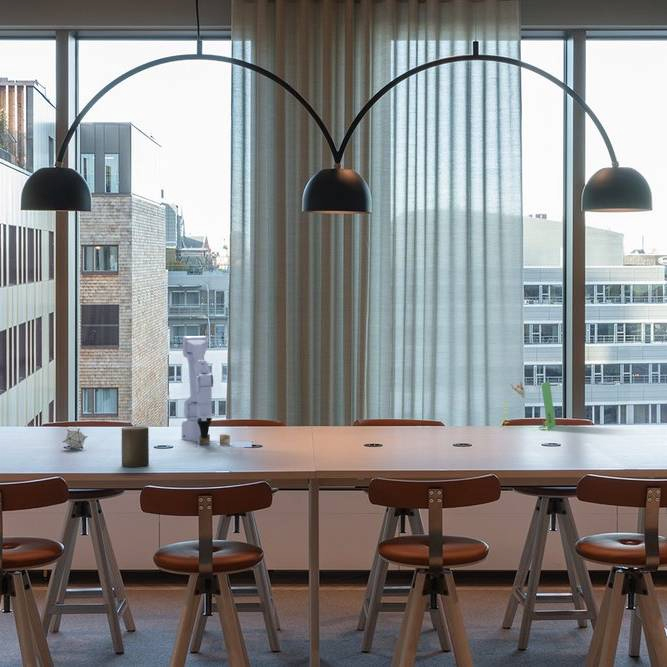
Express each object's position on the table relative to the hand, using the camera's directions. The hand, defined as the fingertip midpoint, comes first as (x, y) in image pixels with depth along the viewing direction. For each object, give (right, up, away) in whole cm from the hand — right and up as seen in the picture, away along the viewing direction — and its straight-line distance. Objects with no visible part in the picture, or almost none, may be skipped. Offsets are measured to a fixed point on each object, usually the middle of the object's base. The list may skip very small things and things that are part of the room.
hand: (204, 436), depth 432 cm
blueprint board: (+8, -4, +1) cm, 9 cm away
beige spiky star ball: (-50, -4, -8) cm, 51 cm away
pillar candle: (-19, -6, -48) cm, 52 cm away
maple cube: (+8, -3, +1) cm, 9 cm away
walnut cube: (0, -3, 0) cm, 3 cm away
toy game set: (+142, -2, +66) cm, 157 cm away
